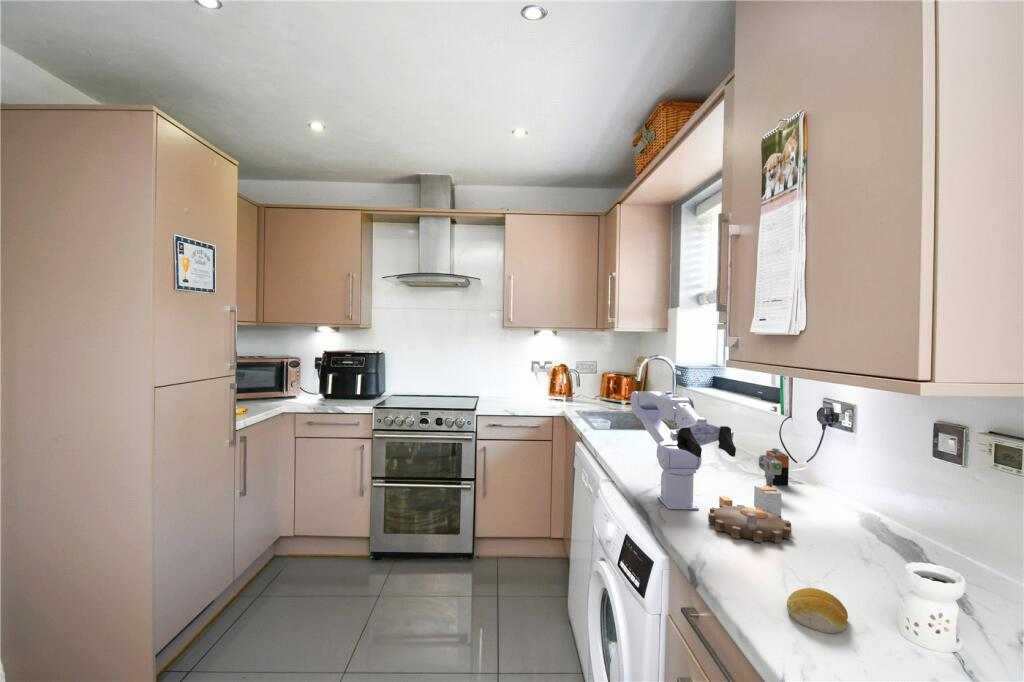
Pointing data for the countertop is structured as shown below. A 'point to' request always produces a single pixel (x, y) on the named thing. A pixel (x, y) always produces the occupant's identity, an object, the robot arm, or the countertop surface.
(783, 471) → the battery
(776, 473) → the mechanical component
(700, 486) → the countertop surface
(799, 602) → the bread roll
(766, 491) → the white banded box
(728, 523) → the brown gear wheel
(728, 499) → the block
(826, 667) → the countertop surface
